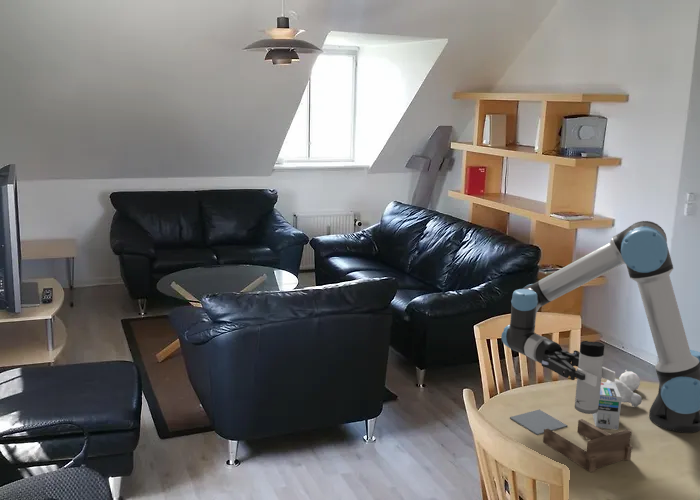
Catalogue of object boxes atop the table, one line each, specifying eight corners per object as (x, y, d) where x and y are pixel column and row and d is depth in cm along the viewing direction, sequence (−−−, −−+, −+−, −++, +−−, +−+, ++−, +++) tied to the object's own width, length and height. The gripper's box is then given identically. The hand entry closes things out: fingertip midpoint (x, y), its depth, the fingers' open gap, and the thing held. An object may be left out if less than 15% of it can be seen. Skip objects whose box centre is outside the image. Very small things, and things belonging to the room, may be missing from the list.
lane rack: (542, 442, 201) (545, 416, 199) (580, 431, 208) (583, 406, 206) (591, 472, 185) (594, 444, 183) (630, 459, 192) (633, 432, 190)
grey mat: (539, 410, 220) (539, 409, 220) (567, 426, 210) (567, 425, 210) (509, 418, 215) (509, 417, 215) (537, 435, 205) (537, 434, 205)
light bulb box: (618, 430, 209) (622, 397, 206) (595, 428, 210) (598, 394, 207) (613, 414, 219) (616, 382, 216) (590, 412, 220) (594, 380, 218)
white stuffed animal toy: (606, 374, 228) (644, 382, 225) (601, 397, 230) (638, 406, 227) (606, 381, 223) (645, 390, 219) (601, 404, 225) (640, 414, 221)
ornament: (619, 393, 234) (613, 371, 237) (626, 394, 239) (620, 373, 242) (638, 388, 231) (631, 366, 234) (645, 389, 236) (638, 368, 238)
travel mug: (575, 413, 192) (582, 344, 187) (573, 403, 198) (579, 336, 194) (599, 416, 191) (606, 346, 186) (596, 405, 197) (603, 338, 192)
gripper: (566, 357, 213) (628, 385, 193) (517, 368, 204) (577, 399, 184) (568, 334, 211) (631, 360, 191) (519, 343, 202) (580, 372, 182)
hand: (604, 379), depth 188 cm, fingers closed on travel mug, 6 cm apart
